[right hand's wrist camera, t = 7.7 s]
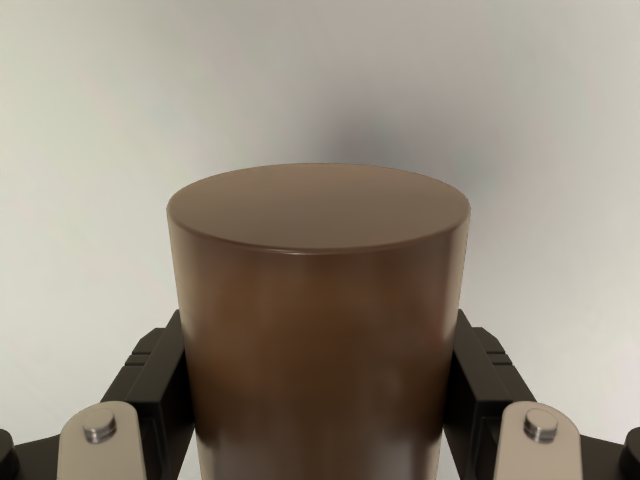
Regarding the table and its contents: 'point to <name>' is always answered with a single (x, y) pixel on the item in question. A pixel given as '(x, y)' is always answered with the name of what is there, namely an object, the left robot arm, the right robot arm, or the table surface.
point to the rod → (318, 319)
